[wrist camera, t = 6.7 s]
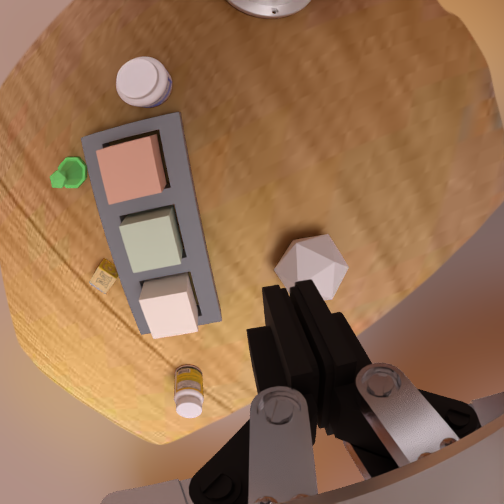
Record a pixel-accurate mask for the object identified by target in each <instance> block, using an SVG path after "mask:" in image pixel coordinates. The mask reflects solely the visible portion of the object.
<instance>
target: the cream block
mask: <svg viewBox="0 0 504 504" xmlns="http://www.w3.org/2000/svg"><path fill="white" fill-rule="evenodd" d="M139 302H140V305H141V308H142V311H143V313H144V316H145V319H146V321H147V324H148V326H149V329H150V332H151V334H152V337H153V339H155V338H162V337H168V336H174V335H181V334H187V333H192V332H198V309H197V305H196V301H195V298H194V294H193V290H192V287H191V283H190V279H189V275H188V272H187V273H182V274H176V275H171V276H166V277H160V278H155V279H150V280H145V281H144V284H143V287H142V291H141V294H140V298H139Z"/></svg>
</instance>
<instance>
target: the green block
mask: <svg viewBox="0 0 504 504" xmlns="http://www.w3.org/2000/svg"><path fill="white" fill-rule="evenodd" d="M119 228H120V232H121V235H122V239H123V242H124V245H125V249H126V252H127V255H128V258H129V262H130V265H131V268H132V271H133V273H137V272H142V271H147V270H152V269H157V268H163V267H168V266H173V265H178V264H181V260H182V252H183V245H182V241H181V237H180V233H179V229H178V224H177V220H176V216H175V211H174V207H173V204H172V205H167V206H163V207H158V208H153V209H149V210H144V211H140V212H135V213H131V214H127V216H126V217H125V219H124V220H123V221H122V223H121V224H120V226H119Z"/></svg>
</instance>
